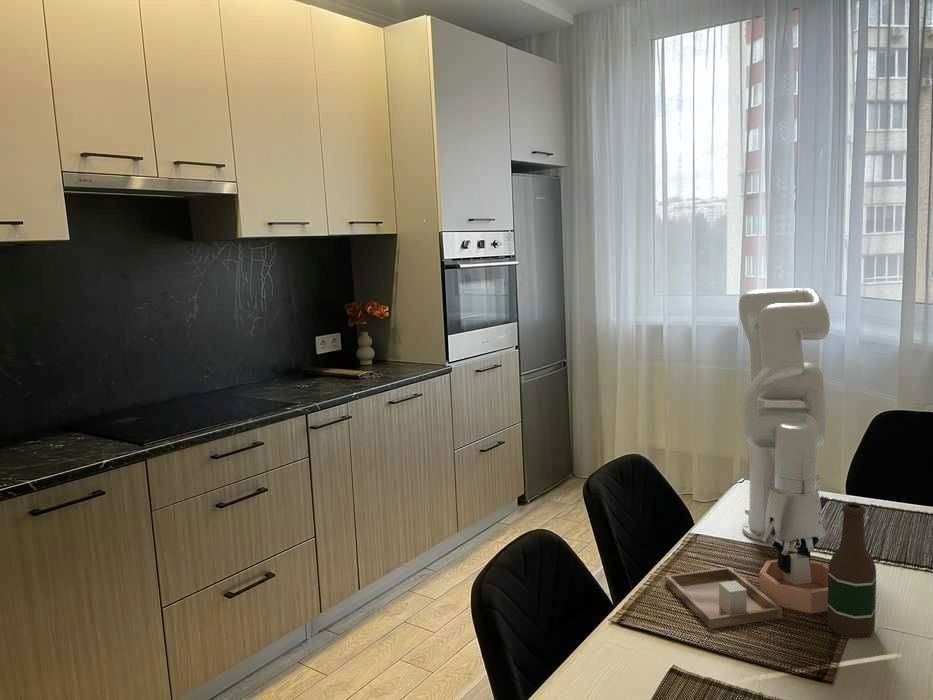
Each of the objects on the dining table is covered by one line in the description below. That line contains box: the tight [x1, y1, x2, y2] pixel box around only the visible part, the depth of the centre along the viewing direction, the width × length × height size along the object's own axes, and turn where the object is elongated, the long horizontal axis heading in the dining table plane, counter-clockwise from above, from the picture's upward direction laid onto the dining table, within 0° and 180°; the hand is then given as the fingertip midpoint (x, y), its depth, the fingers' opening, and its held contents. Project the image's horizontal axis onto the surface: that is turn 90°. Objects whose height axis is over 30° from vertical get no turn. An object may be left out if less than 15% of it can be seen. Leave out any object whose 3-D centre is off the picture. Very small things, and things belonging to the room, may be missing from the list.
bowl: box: [759, 558, 829, 614], centre depth 145 cm, size 15×15×5 cm
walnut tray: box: [664, 566, 783, 629], centre depth 144 cm, size 19×15×2 cm
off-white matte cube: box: [783, 552, 812, 585], centre depth 146 cm, size 4×4×5 cm
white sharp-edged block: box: [719, 581, 747, 614], centre depth 140 cm, size 4×4×5 cm
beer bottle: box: [826, 503, 877, 640], centre depth 130 cm, size 8×8×24 cm
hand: (793, 568), depth 147 cm, fingers closed on off-white matte cube, 3 cm apart
